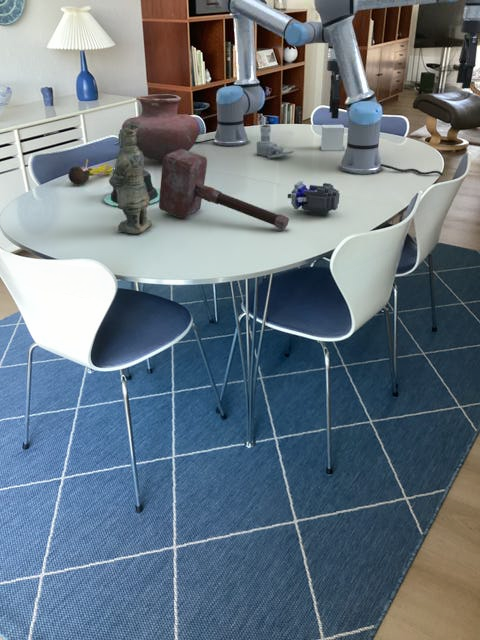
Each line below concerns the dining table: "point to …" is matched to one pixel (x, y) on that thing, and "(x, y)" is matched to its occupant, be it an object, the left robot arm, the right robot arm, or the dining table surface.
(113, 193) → the dark dome on dish
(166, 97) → the clay pot
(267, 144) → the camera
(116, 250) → the dining table surface
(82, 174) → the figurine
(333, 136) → the brick
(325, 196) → the toy
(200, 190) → the sledgehammer
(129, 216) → the statue
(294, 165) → the dining table surface
